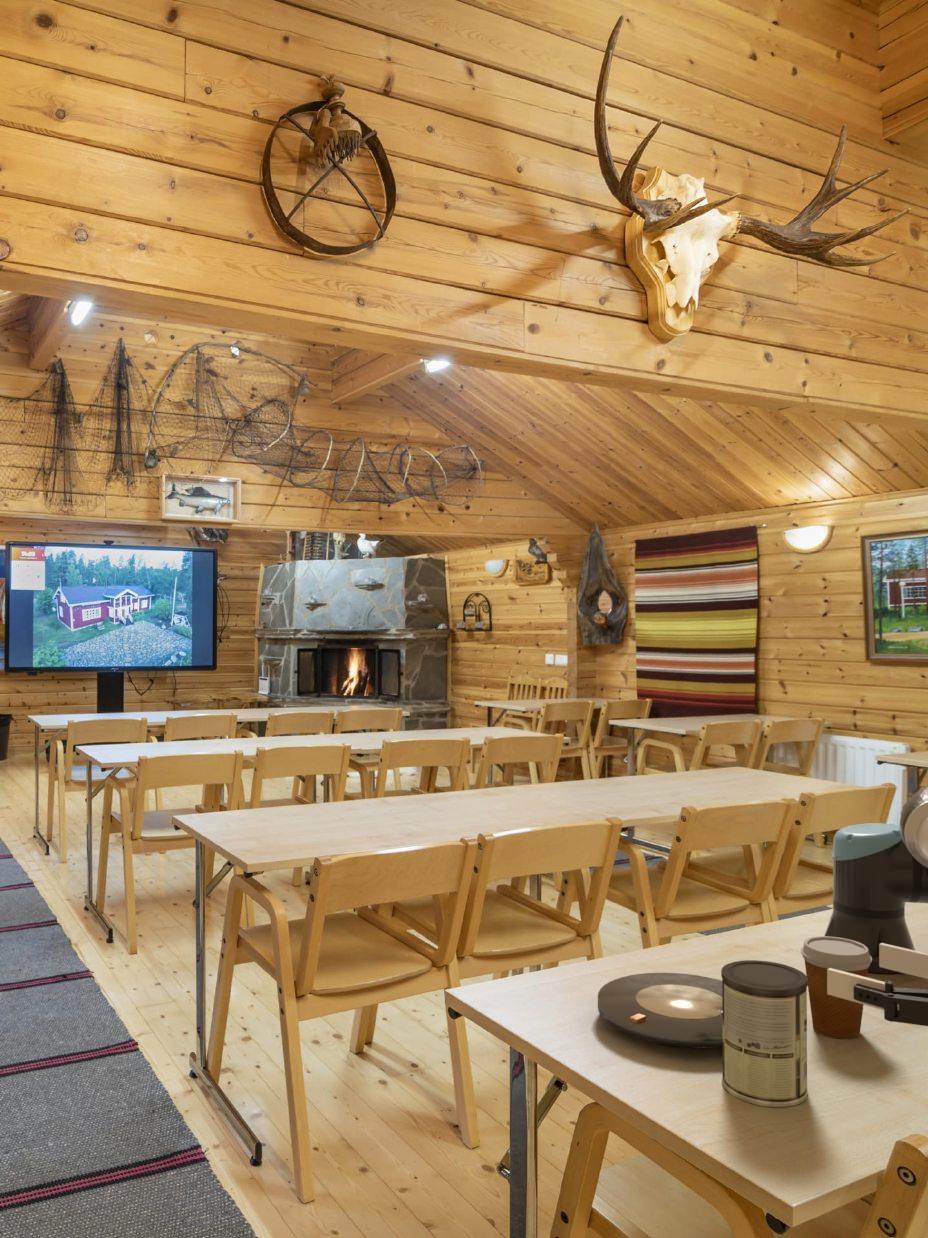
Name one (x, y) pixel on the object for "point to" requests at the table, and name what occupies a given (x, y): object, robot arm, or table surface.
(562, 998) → the table surface
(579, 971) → the table surface
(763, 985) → the coffee can
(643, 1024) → the turntable platter
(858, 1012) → the disposable coffee cup
